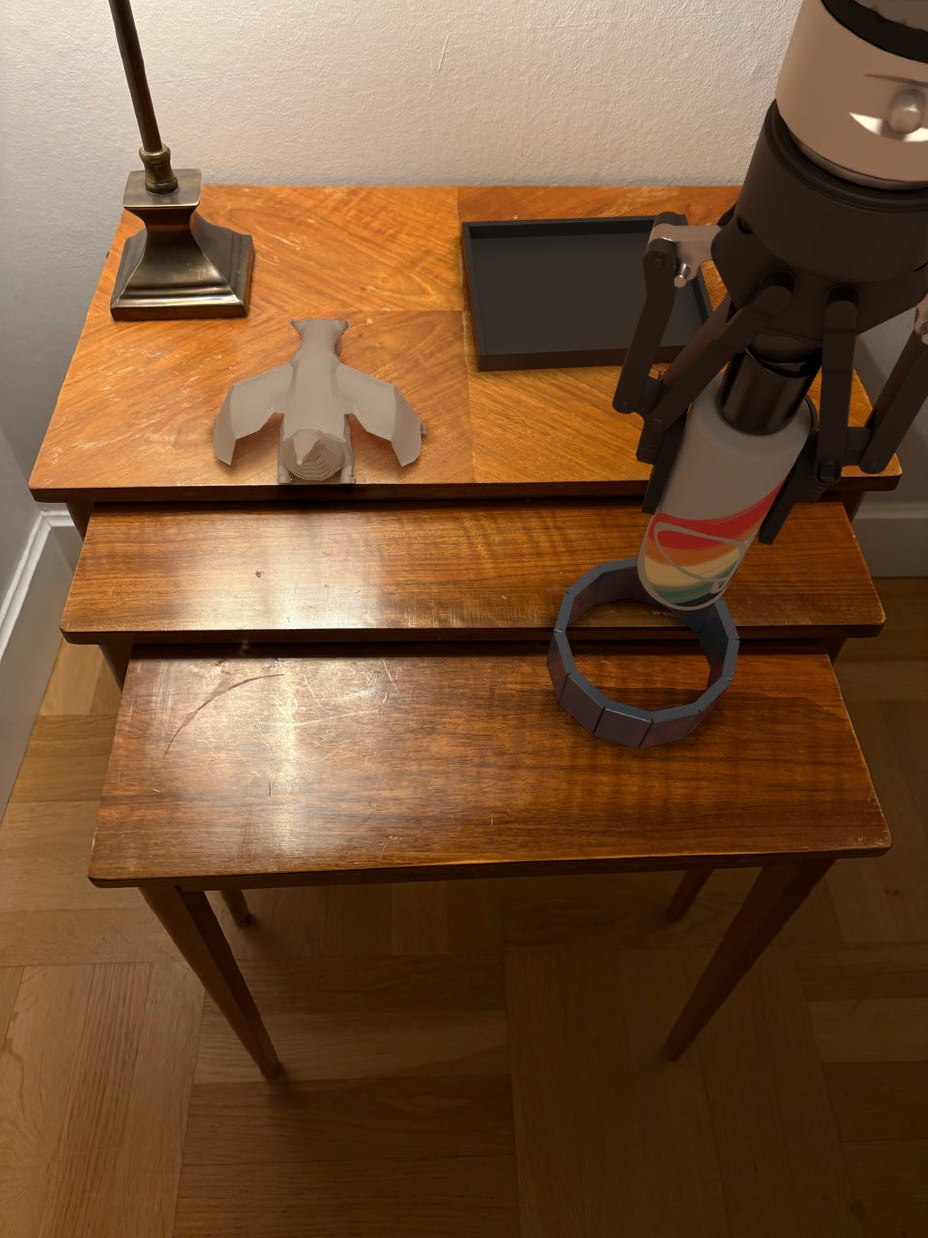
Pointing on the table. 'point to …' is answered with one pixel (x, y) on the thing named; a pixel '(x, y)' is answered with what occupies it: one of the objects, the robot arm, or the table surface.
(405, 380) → the table surface
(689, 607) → the white cylindrical bottle
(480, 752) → the table surface
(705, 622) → the segmented bangle bracelet
